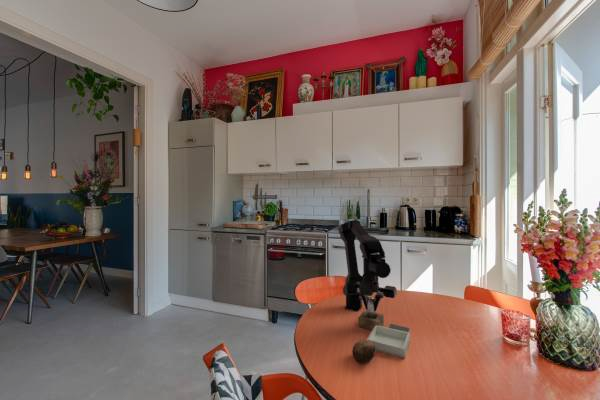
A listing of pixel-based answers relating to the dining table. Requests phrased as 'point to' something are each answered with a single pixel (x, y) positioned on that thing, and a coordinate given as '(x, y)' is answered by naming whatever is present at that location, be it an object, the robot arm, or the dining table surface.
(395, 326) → the mat
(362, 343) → the brown coconut
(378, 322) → the brown hollow block
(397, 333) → the tray
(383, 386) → the dining table surface
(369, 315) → the pin
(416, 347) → the dining table surface
